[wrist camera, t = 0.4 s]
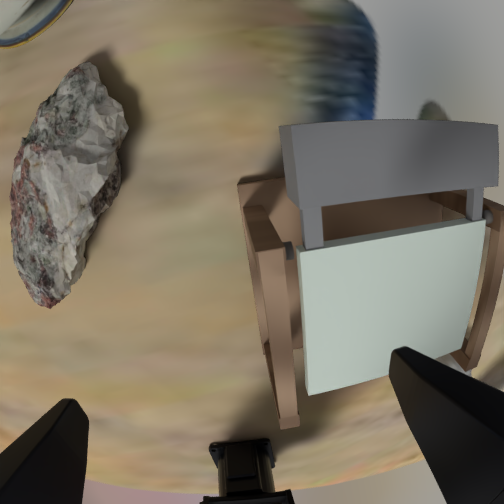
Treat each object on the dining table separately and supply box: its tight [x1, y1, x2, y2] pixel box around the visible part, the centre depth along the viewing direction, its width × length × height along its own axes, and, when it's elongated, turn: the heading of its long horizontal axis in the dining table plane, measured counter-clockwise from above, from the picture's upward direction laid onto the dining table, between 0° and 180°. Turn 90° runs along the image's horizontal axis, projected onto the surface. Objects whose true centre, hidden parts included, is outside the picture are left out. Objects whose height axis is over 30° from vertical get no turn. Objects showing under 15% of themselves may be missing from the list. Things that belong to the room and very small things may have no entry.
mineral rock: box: [9, 62, 129, 309], centre depth 16 cm, size 15×8×4 cm, turn 146°
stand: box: [237, 177, 504, 430], centre depth 19 cm, size 13×15×8 cm
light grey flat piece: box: [279, 119, 499, 396], centre depth 15 cm, size 14×11×2 cm
